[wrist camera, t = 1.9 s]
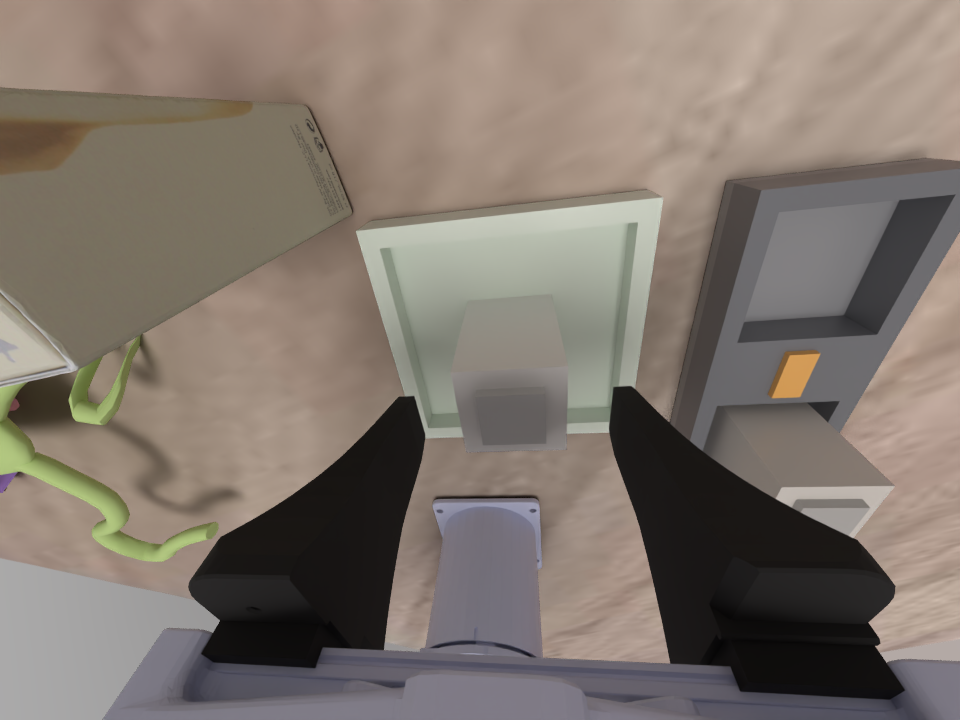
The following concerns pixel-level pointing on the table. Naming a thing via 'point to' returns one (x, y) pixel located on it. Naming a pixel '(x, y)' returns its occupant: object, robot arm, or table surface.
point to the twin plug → (798, 462)
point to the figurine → (12, 451)
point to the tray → (518, 291)
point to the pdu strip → (813, 285)
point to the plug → (511, 376)
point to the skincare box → (142, 213)
